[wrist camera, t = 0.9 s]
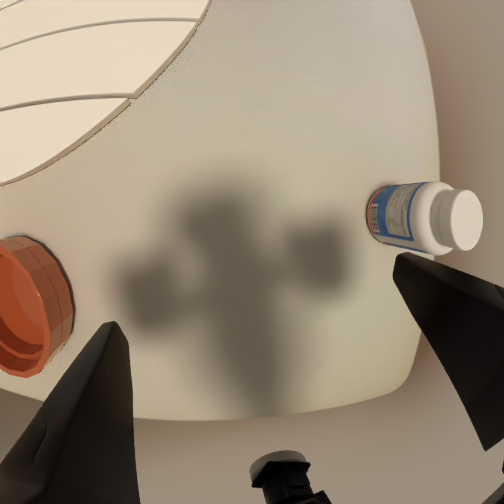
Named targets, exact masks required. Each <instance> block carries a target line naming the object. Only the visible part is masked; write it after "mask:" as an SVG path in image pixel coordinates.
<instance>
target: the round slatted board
mask: <svg viewBox="0 0 504 504" xmlns="http://www.w3.org/2000/svg"><path fill="white" fill-rule="evenodd" d="M210 3H211V0H0V185H5V184H8V183H12V182H15V181H17V180H20V179H23V178H25V177H27V176H30V175H32V174H34V173H36V172H38V171H40V170H41V169H43V168H45V167H47V166H49V165H50V164H52V163H54V162H55V161H57V160H58V159H60V158H62V157H63V156H65V155H66V154H68V153H69V152H71V151H72V150H73V149H75V148H76V147H78V146H79V145H80V144H82V143H83V142H85V141H86V140H87V139H89V138H90V137H91V136H93V135H94V134H95V133H96V132H98V131H99V130H100V129H101V128H103V127H104V126H105V125H106V124H108V123H109V122H110V121H111V120H112V119H113V118H115V117H116V116H117V115H118V114H119V113H120V112H122V111H123V110H124V109H125V108H126V107H127V106H128V105H129V104H131V102H130V101H129V99H128V98H137V97H138V96H139V95H140V94H141V93H142V92H143V91H144V90H145V89H146V88H147V87H148V86H150V84H151V83H152V82H153V81H154V80H155V79H156V78H157V77H158V76H159V75H160V74H161V73H162V72H163V71H164V70H165V69H166V68H167V67H168V66H169V64H170V63H171V62H172V61H173V60H174V59H175V57H176V56H177V55H178V54H179V53H180V51H181V50H182V49H183V48H184V46H185V45H186V44H187V43H188V41H189V40H190V38H191V37H192V36H193V34H194V33H195V31H196V30H197V26H199V25H200V23H201V22H202V20H203V18H204V16H205V14H206V12H207V10H208V8H209V5H210Z"/></svg>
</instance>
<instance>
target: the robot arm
mask: <svg viewBox="0 0 504 504" xmlns="http://www.w3.org/2000/svg"><path fill="white" fill-rule="evenodd" d="M393 280H394V283H395V284H396V286H397V288H398V290H399V292H400V293H401V295H402V297H403V299H404V301H405V303H406V305H407V307H408V309H409V310H410V312H411V314H412V316H413V318H414V319H415V321H416V322H417V324H418V326H419V327H420V329H421V330H422V332H423V333H424V335H425V337H426V338H427V340H428V342H429V343H430V345H431V347H432V348H433V350H434V351H435V353H436V355H437V357H438V358H439V360H440V362H441V364H442V365H443V367H444V369H445V371H446V373H447V374H448V376H449V378H450V380H451V382H452V383H453V385H454V387H455V389H456V391H457V393H458V395H459V397H460V399H461V401H462V403H463V405H464V407H465V409H466V411H467V413H468V415H469V417H470V420H471V422H472V424H473V426H474V428H475V430H476V432H477V435H478V437H479V439H480V442H481V444H482V447H483V449H484V450H485V451H487V450H488V449H490V448H491V447H493V446H494V445H495V444H497V443H498V442H500V441H501V440H502V439H503V438H504V288H503V287H500V286H498V285H494V284H493V283H490V282H488V281H485V280H483V279H480V278H478V277H475V276H473V275H470V274H467V273H465V272H462V271H459V270H457V269H454V268H451V267H449V266H446V265H443V264H441V263H437V262H435V261H432V260H429V259H427V258H424V257H421V256H418V255H415V254H412V253H410V252H404V253H401V254H398V255H397V257H396V260H395V265H394V270H393ZM310 466H311V464H310V463H309V462H280V461H269V462H267V463H266V464H265V466H264V467H263V469H262V470H261V471H260V473H259V474H258V476H257V477H256V479H255V480H254V481H253V483H252V484H251V486H252V488H262V489H263V493H264V497H265V500H266V503H267V504H332V503H331V502H330V500H329V498H328V497H327V495H326V494H325V492H324V490H322V491H319V492H318V493H315V494H313V492H312V489H311V487H310V482H309V479H308V477H307V475H306V473H305V472H306V471H307V470H308V469H309V467H310ZM502 472H503V473H504V462H503V467H502ZM0 504H140V498H139V491H138V482H137V472H136V462H135V447H134V429H133V389H132V378H131V367H130V355H129V344H128V341H127V339H126V337H125V335H124V334H123V332H122V330H121V328H120V327H119V325H118V323H117V322H115V321H112V322H106V323H103V324H102V325H101V326H100V328H99V329H98V330H97V331H96V333H95V334H94V335H93V336H92V338H91V339H90V340H89V342H88V343H87V344H86V345H85V347H84V348H83V349H82V351H81V352H80V353H79V355H78V356H77V357H76V359H75V360H74V361H73V363H72V364H71V365H70V367H69V368H68V369H67V371H66V372H65V373H64V375H63V376H62V378H61V379H60V380H59V382H58V383H57V385H56V386H55V387H54V389H53V390H52V392H51V393H50V394H49V396H48V397H47V399H46V400H45V402H44V403H43V405H42V407H41V408H40V409H39V411H38V412H37V414H36V415H35V417H34V418H33V419H32V421H31V423H30V424H29V425H28V427H27V428H26V430H25V431H24V432H23V434H22V435H21V437H20V438H19V439H18V440H17V442H16V443H15V445H14V446H13V447H12V449H11V450H10V451H9V452H8V454H7V455H6V457H5V458H4V459H3V461H2V462H1V463H0ZM482 504H504V483H503V484H502V485H501V486H500V487H499V488H498V489H497V490H496V491H495V492H494V493H493V494H492V495H491V496H489V497H488V499H486V500H485V501H484V502H483V503H482Z"/></svg>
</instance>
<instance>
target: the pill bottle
mask: <svg viewBox="0 0 504 504" xmlns="http://www.w3.org/2000/svg"><path fill="white" fill-rule="evenodd" d="M367 218H368V224H369V227H370V230H371V232H372V234H373V235H374V236H375V238H376V239H377V240H379V241H380V242H382V243H384V244H387V245H390V246H395V247H400V248H405V249H410V250H414V251H419V252H423V253H428V254H432V255H444V254H446V253H448V252H450V251H451V250H452V249H458V250H464V251H466V250H470V249H472V248H473V247H474V246H475V245H476V243H477V242H478V240H479V238H480V235H481V231H482V225H483V215H482V209H481V205H480V202H479V200H478V198H477V197H476V195H475V194H474V193H473V192H471V191H469V190H457V189H453V188H452V187H450V186H449V185H448V184H445V183H443V182H422V183H412V184H402V185H392V186H386V187H383V188H381V189H379V190H378V191H377V192H376V193H375V194H374V195H373V196H372V198H371V200H370V202H369V205H368V211H367Z"/></svg>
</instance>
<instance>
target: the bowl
mask: <svg viewBox="0 0 504 504" xmlns="http://www.w3.org/2000/svg"><path fill="white" fill-rule="evenodd" d="M72 318H73V308H72V303H71V298H70V293H69V287H68V285H67V283H66V281H65V279H64V277H63V275H62V272H61V270H60V268H59V266H58V264H57V262H56V261H55V260H54V259H53V258H52V257H51V255H50V254H49V253H48V252H47V251H46V250H45V249H44V248H43V247H42V245H40V244H39V243H37V242H34V241H32V240H30V239H28V238H26V237H24V236H19V237H11V238H5V239H0V369H2V370H3V371H5V372H6V373H8V374H10V375H14V376H19V377H24V378H28V377H30V376H33V375H35V374H38V373H40V372H41V371H42V370H43V369H44V368H45V367H46V366H47V364H48V363H49V362H50V361H51V360H52V359H53V358H54V356H55V355H56V354H57V353H58V352H59V351H60V350H61V349H62V347H63V345H64V344H65V342H66V341H67V339H68V337H69V336H70V334H71V326H72Z"/></svg>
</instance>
